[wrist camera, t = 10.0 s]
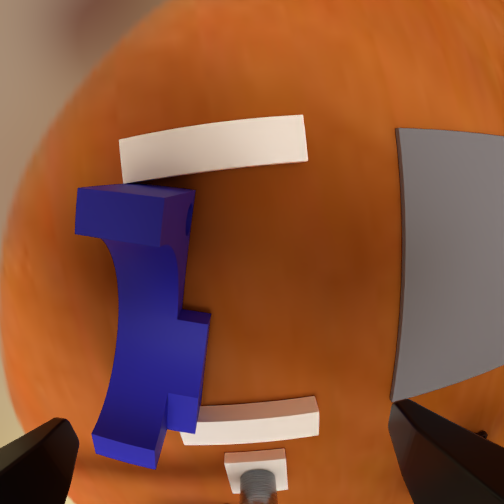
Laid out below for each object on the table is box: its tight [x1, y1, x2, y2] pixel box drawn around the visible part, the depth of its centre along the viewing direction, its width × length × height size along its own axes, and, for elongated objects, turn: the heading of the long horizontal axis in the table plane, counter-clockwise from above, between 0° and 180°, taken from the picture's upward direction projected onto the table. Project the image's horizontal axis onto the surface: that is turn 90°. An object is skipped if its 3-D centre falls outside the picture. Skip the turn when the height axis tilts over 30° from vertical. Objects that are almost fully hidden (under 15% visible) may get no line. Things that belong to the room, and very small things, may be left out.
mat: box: [390, 128, 504, 402], centre depth 16 cm, size 10×16×1 cm, turn 6°
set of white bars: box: [119, 115, 319, 494], centre depth 16 cm, size 8×24×2 cm, turn 6°
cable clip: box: [75, 183, 211, 470], centre depth 13 cm, size 12×4×6 cm, turn 171°
